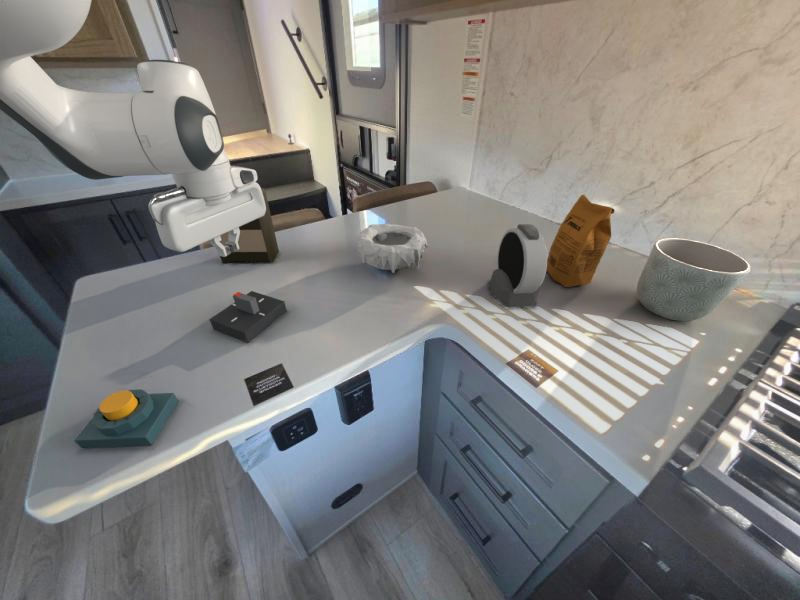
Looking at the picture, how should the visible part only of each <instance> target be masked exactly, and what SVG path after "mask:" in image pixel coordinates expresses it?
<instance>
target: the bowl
mask: <svg viewBox="0 0 800 600" xmlns="http://www.w3.org/2000/svg"><path fill="white" fill-rule="evenodd" d="M356 241H357V243H356V248H357V251H359V254H360V257H361V260H362V263H363V264H368V265H370V266H371V267H374V268H376V269H379V270H381V271H382V270H383V271H384V270H385V271H391V273H393V274H395V272H396V270H402V269H405V268H407V267H408V268H410V267H411V265H414V264H415V266H416V268H417V270H419V267H420V261H421V259H422V258H423V256H425V250H426V249H428V246H429V245H428V240H427V238H426V236H425V235H424V233H423V232H422V231H421V230H420V229H419V228H417V227H416V226H414V225H410V226H406V225H401V224H391V223H381V224H375V223H373V224H369V226H367V227H366V228H364V229H363V230H361V231H360V233H359V236H358V237H357V239H356Z"/></svg>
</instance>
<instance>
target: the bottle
mask: <svg viewBox="0 0 800 600" xmlns="http://www.w3.org/2000/svg"><path fill="white" fill-rule="evenodd" d="M260 188H261V190H262V193H263V197H264V201H265V205H266V211H265V215H264V216H262V217H260V218H258V219H255V220H253V221H251V222H249V223H246V224H244V225H242V226H240V227H239V230H240V235H239V239H238V245H239V250H237V251H235V252H231V254H229V255H227V256H226V257H222V256H220V255H219V254H218V255H219V259H220V261H221V263H222V264H236V263H238V264H240V263H241V264H244V263H249V264H250V263H274V262H275V260H276V259H277V257H278V254H279V253H280V249H279V246H278V240H277V237H276V231H275V227H274V223H273V219H272V215H271V210H270V205H269V201H268V197H267V193H266V190H265V188H264V187H260ZM220 237H221V241H219V242H220V243H221V244H223V245H225V243H226V242H228V237H229V232H226V233H224V234H222V235H220Z"/></svg>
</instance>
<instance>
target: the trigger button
mask: <svg viewBox="0 0 800 600" xmlns="http://www.w3.org/2000/svg"><path fill="white" fill-rule="evenodd" d="M137 406H138V401H137V399H136V398H135V397H134V395H133V394H132V393H131V392H130V391H128V390H119V391H116V392H114V393H111V394H109V395H108V396H106V397H105V398H104V399H103V400H102V401H101V402H100V404H99V407H98V408H99V410H100V411H101V412H102V414H103V415H104V416H105V417H106V418H107V419H108V420H110V421H117V420H120V419H122V418H125V417H127V416H128V415H130V414H131V413H132V412H134V411H135V410H136V408H137Z"/></svg>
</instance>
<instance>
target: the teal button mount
mask: <svg viewBox="0 0 800 600" xmlns="http://www.w3.org/2000/svg"><path fill="white" fill-rule="evenodd" d="M127 391H130V392H131V393H132V394H133V395H134V397H135V398H136V399H137V401H138V406H137V408H136V410H135V411H134V412H132V413H131V414H130V415H128V416H127V417H125V418H122V419H120V420H117V421H110V420H108V419H107V418H106V417H105V416H104V415H103V414H102V412H101V411H100V410H99V407H98V408H97V409H96V411H95V412H93V414H92V418H90V420H89V421H88V423H87V424H86V425H85V426H84V427H83V429H81V430H80V432H79V434H78V435H77V436H76V437H75V438H74V440H73V441H74V443H75V444H77V445H78V446H79V448H81V449H101V448H122V447H123V448H124V447H143V446H145V447H146V446H153V444H154V443H155V441H156V439H157V438H158V436H159V435H160V433H161V431H162V429H163V428H164V426H165V424H166V422H167V421H168V419H169V418H170V416H171V414H172V413H173V411H174V410H175V408H176V406H177V404H178V403H179V399H178V397H177V396H176V394H175V393H174V392H162V393H159V392H158V393H148V392H146V391H145V390H144V389H128V390H127Z"/></svg>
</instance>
